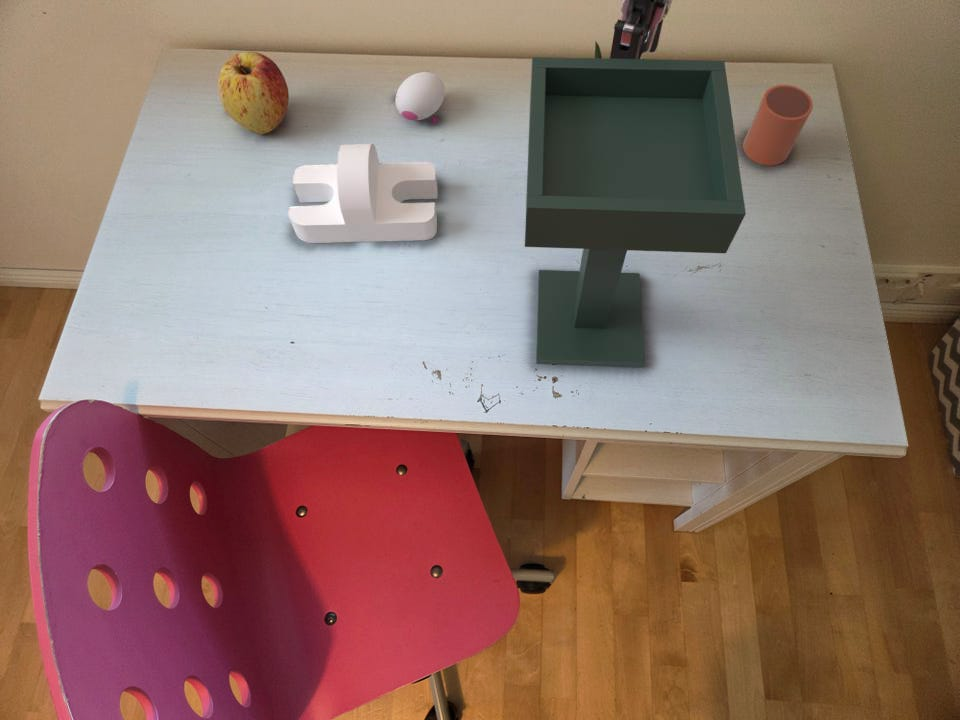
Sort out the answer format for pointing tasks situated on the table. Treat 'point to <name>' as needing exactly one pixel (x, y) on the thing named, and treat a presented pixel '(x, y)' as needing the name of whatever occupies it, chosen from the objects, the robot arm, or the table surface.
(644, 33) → the robot arm
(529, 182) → the green pedestal tray
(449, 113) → the table surface
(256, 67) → the apple
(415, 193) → the slotted bracket
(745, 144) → the cup
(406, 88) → the white oval piece
